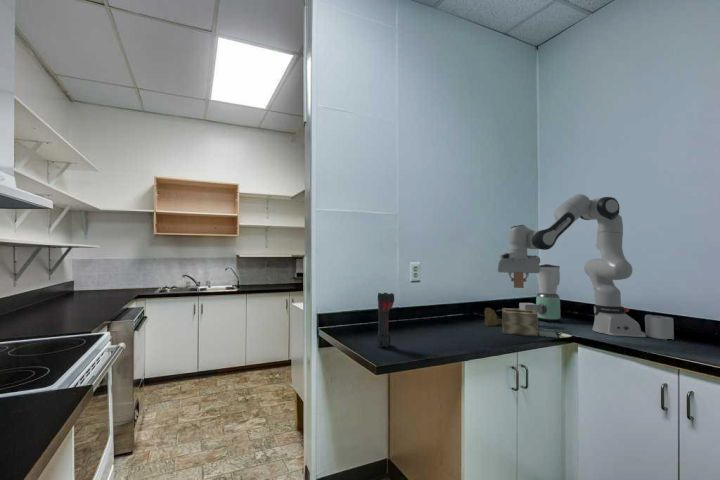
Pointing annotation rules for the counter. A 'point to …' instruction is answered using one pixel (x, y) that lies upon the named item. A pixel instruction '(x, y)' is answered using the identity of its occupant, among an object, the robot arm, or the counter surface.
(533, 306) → the supplement box
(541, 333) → the mat
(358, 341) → the counter surface
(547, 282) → the juicer
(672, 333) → the toilet tissue
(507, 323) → the crate
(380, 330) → the flashlight
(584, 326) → the counter surface
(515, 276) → the block
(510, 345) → the counter surface
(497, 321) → the rock
